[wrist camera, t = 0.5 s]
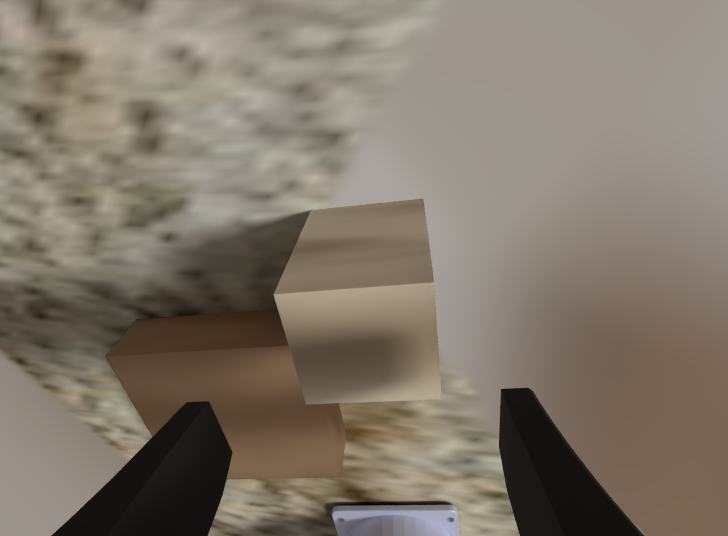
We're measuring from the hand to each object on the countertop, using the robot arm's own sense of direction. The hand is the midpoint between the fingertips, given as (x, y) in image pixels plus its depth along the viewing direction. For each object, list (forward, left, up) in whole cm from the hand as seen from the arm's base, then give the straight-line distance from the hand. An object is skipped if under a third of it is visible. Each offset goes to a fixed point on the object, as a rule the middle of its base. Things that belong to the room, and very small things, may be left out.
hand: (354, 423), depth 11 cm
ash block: (0, 0, -9) cm, 9 cm away
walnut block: (-7, +8, -9) cm, 14 cm away
